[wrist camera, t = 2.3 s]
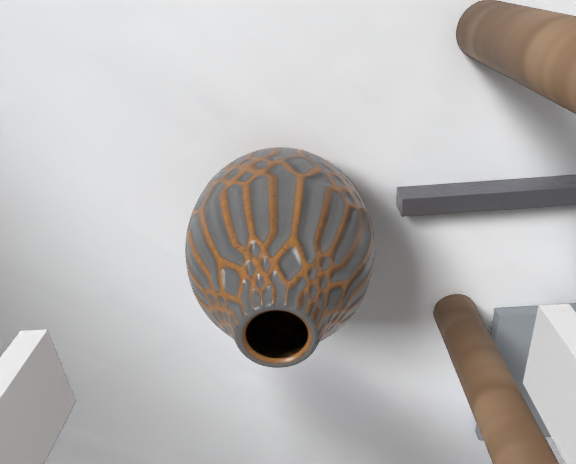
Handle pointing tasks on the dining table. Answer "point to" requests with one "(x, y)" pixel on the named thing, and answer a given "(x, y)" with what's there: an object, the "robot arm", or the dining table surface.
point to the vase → (279, 253)
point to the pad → (516, 348)
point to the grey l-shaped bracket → (487, 195)
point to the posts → (459, 308)
